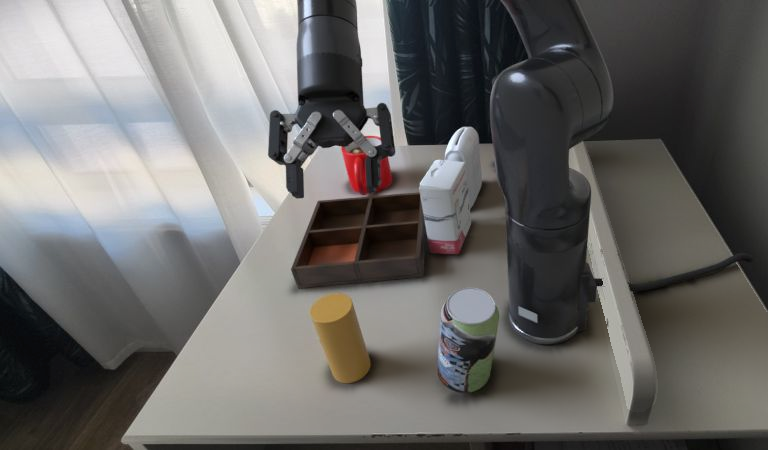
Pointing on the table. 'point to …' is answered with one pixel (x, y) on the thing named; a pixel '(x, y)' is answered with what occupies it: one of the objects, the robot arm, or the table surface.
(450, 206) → the ink box
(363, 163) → the mug
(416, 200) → the grid
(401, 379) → the table surface
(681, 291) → the table surface
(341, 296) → the yellow cylinder
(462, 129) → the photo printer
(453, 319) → the beverage can
